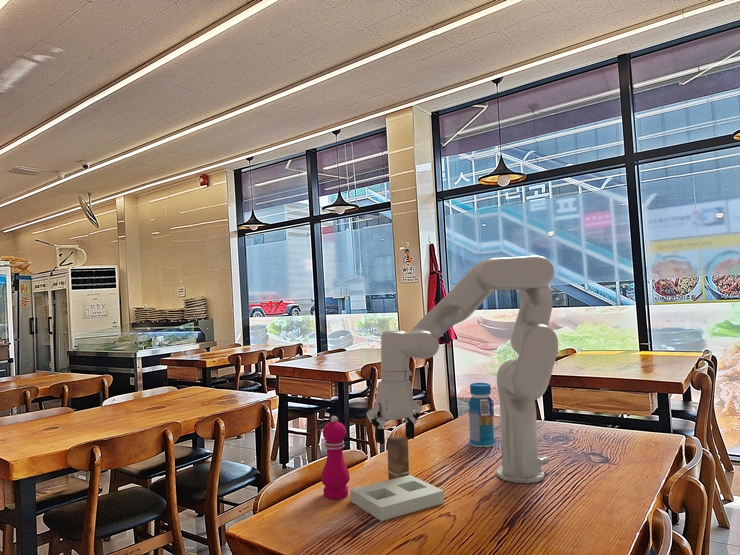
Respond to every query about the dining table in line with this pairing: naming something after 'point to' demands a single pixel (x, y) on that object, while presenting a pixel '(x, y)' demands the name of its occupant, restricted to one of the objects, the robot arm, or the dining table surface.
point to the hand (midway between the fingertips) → (395, 440)
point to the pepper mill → (335, 461)
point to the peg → (397, 457)
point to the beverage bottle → (481, 415)
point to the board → (396, 497)
